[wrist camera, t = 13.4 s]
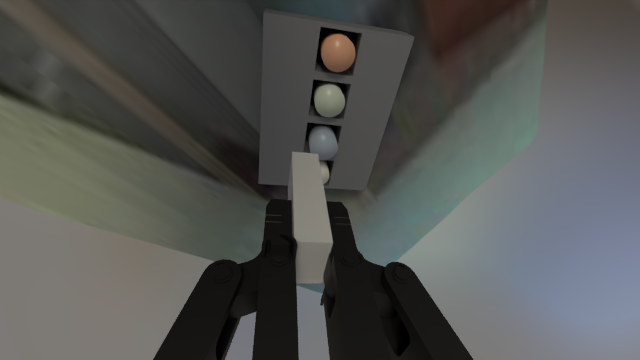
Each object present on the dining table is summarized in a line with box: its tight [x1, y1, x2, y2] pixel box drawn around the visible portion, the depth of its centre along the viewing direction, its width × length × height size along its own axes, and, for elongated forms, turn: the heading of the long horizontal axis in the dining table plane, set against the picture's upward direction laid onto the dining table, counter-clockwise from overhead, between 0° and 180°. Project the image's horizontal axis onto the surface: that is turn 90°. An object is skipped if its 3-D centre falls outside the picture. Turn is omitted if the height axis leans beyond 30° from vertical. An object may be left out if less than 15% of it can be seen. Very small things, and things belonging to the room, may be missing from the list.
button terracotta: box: [319, 31, 355, 72], centre depth 34 cm, size 4×4×4 cm
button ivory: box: [319, 160, 329, 184], centre depth 45 cm, size 4×4×4 cm
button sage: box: [313, 80, 345, 117], centre depth 38 cm, size 4×4×4 cm
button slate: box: [308, 124, 338, 160], centre depth 40 cm, size 4×4×4 cm
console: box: [259, 9, 414, 191], centre depth 40 cm, size 18×24×4 cm
